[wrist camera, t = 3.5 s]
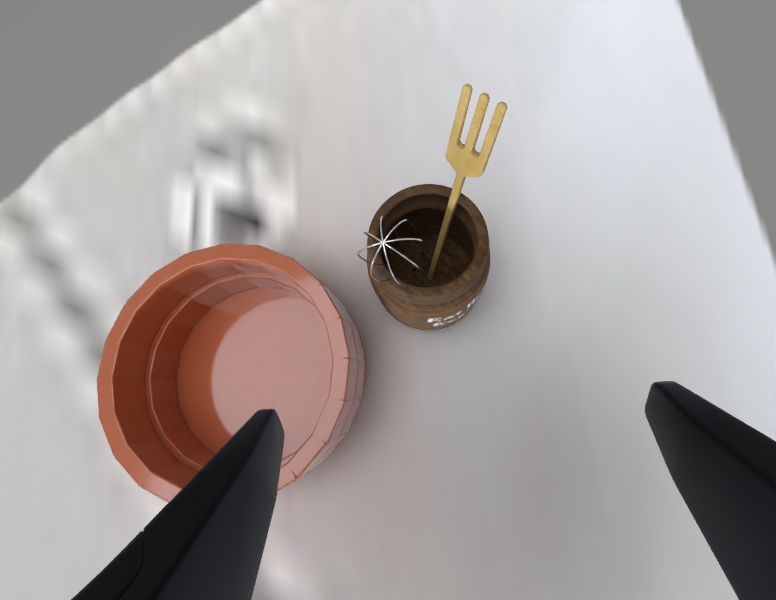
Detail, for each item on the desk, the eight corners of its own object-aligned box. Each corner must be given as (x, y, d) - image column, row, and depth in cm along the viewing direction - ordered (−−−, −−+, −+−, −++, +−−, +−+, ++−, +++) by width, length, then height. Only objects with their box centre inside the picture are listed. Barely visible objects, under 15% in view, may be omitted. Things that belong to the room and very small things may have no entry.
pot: (216, 527, 22) (155, 567, 17) (135, 339, 25) (63, 326, 20) (406, 409, 22) (399, 415, 17) (304, 236, 25) (273, 199, 20)
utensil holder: (357, 295, 24) (285, 206, 12) (418, 211, 24) (406, 51, 13) (441, 353, 22) (452, 316, 11) (503, 263, 23) (575, 138, 12)
